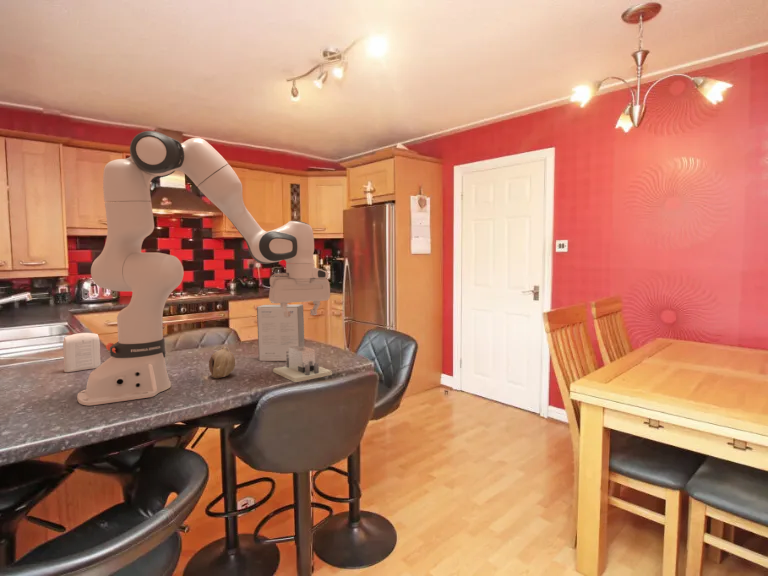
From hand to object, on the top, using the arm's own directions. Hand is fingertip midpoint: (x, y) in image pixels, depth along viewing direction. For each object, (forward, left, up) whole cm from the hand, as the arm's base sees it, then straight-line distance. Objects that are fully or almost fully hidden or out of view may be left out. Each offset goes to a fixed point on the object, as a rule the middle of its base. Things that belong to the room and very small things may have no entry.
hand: (300, 316), depth 138 cm
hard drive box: (+4, +23, -19) cm, 30 cm away
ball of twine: (-21, +14, -19) cm, 31 cm away
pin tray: (0, 0, -19) cm, 19 cm away
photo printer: (-54, +53, -19) cm, 78 cm away
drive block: (0, 0, -18) cm, 18 cm away
